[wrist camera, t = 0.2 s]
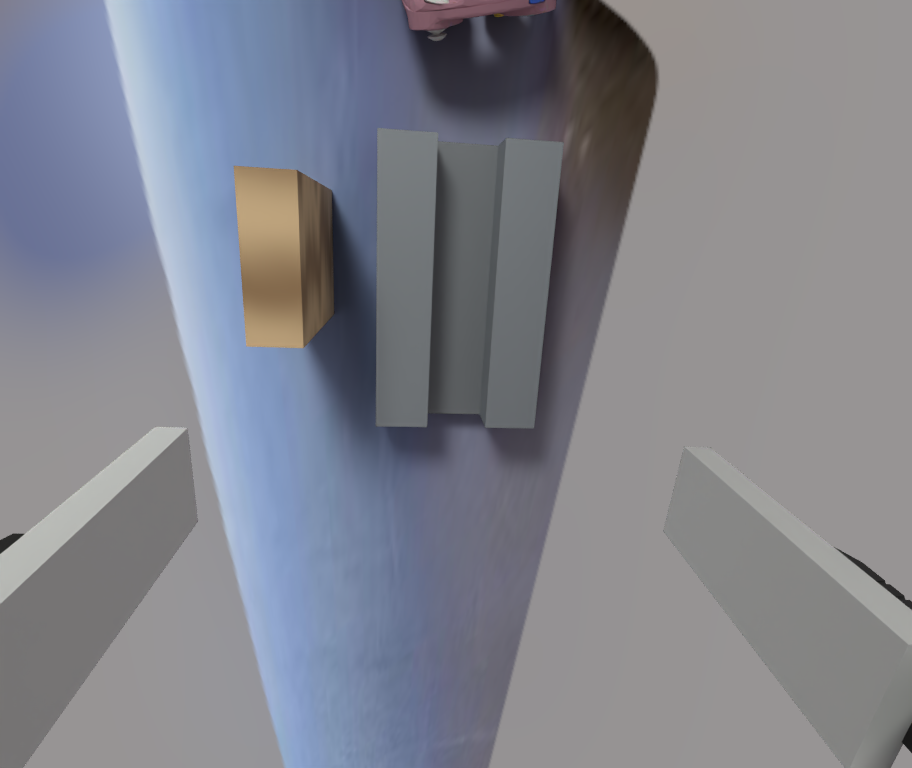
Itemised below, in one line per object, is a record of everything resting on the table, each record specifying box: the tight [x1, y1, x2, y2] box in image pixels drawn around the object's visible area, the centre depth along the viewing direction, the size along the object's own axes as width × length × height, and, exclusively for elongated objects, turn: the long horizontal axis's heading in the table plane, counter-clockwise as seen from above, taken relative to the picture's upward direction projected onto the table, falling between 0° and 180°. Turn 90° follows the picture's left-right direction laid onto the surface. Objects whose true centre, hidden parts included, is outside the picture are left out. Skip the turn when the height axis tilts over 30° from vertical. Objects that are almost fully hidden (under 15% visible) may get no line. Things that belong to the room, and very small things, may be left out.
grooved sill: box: [376, 128, 564, 428], centre depth 37 cm, size 20×12×4 cm, turn 177°
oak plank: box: [234, 166, 334, 348], centre depth 31 cm, size 9×3×12 cm, turn 177°
